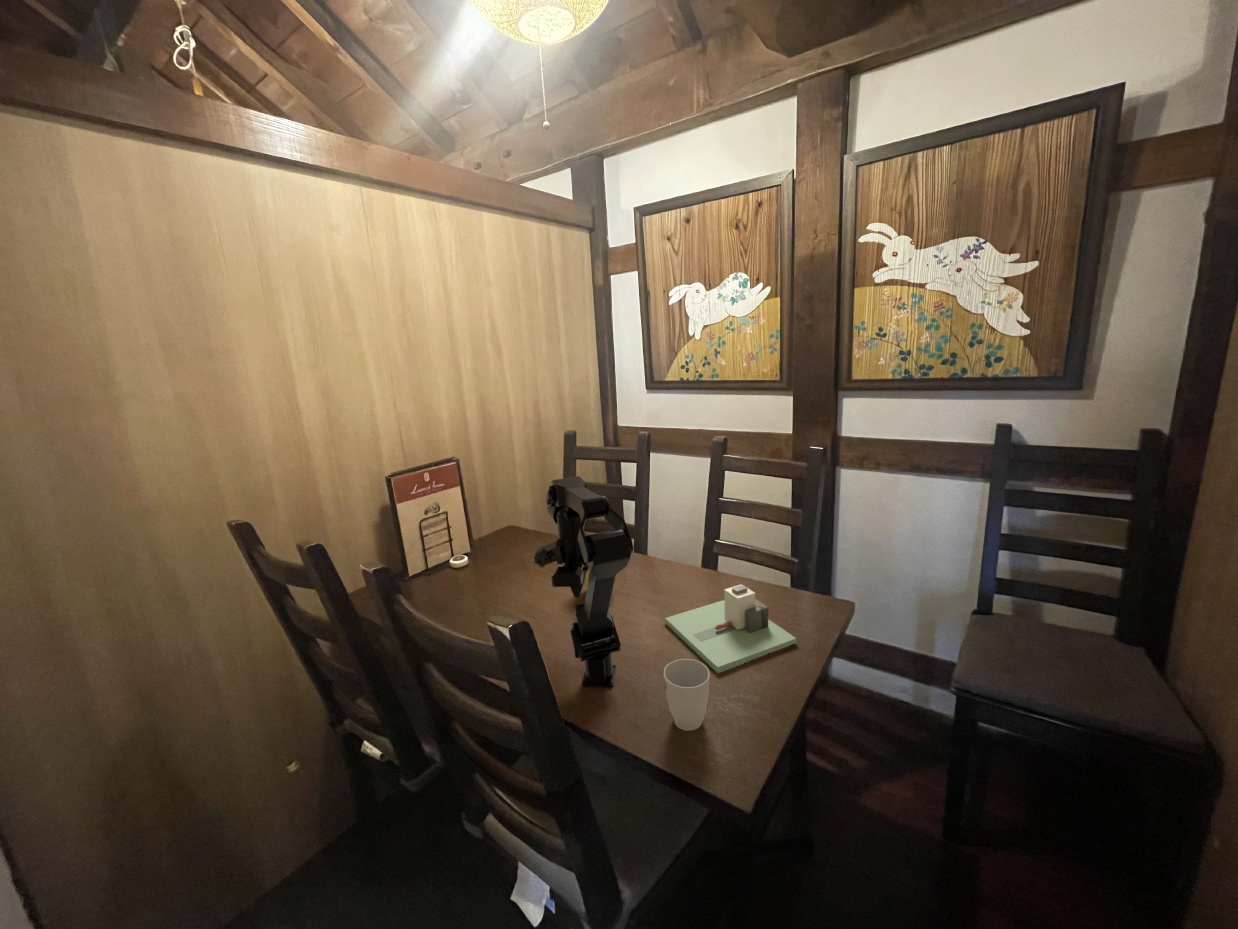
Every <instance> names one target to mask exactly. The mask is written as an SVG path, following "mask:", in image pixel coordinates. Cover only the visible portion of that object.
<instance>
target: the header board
mask: <svg viewBox="0 0 1238 929" xmlns="http://www.w3.org/2000/svg"><path fill="white" fill-rule="evenodd" d="M664 620H665V621H664V622H665V624H666V626H667V627H669V629H670V630H671V631H672V632H674V634H676V635H677V637H679V638H680V639H681V640H682V641H683V642H684V643H685V644H686V645H687V646H688V647H690V649H691V650H693V652H695V653H696V654H697V656H698V657H700V658H701V659H702V660H703V662H705V663H706V664H707V665H709V667H710V668H712V669H713V671H715V673H716V674H720V673H721V674H722V673H723V672H726V671H728V670H731V669H734V668H736V666H737V667H739V666H741V665H744V663H745V664H747V663H750V662H752V661H751V660H753V659H755V660H757V659H756V658H758V657H760V656H763V655H766V654H768V653H771V652H773V651H776V650H779V649H782V648H784V647H787V646H789V645H791V644H794V643H796V644H797V638H796V636H793V635H792V634H791V633H789V632H788V631H786V630H785V629H784V628H782V627H781V626H779V625H778V624H776V623H774V622H773V621H772V620H770V619H769V618H768V627H767V628H764V629H761V630H758V631H755V632H752V633H749V632H748V631H746V627H745V628H742V629H739V630H737V629H736V628H734V627H733V626H732V625H731V626H728V627H725V628H722V629H719V630H716V629H715V626H716V625H719V624H722V623H725V622H727V621H725V604H724V599H723V600H720V601H717V602H713V603H710V604H707V605H703V606H701V607H697V608H694V609H690V610H688V611H683V612H680V613H678V614H673V615H671V616H667V617H665V618H664ZM787 648H788V647H787ZM782 650H783V649H782ZM779 651H780V650H779ZM771 654H772V653H771ZM766 656H767V655H766ZM763 657H764V656H763ZM758 659H759V658H758ZM749 661H750V662H749ZM753 661H754V660H753ZM746 662H747V663H746Z"/></svg>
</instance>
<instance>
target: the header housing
mask: <svg viewBox="0 0 1238 929" xmlns="http://www.w3.org/2000/svg"><path fill="white" fill-rule="evenodd" d="M768 619H769V607H768V606H767V605H765V604H764V603H762V602H761V601H759V600H758V599H756V598H755V608H752V609H749V610H746V631H748V632H749V633H752V632H755V631H758V630H761V629H764V628H767V627H768Z"/></svg>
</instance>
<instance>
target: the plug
mask: <svg viewBox="0 0 1238 929" xmlns="http://www.w3.org/2000/svg"><path fill="white" fill-rule="evenodd" d="M723 591H724V595H723V596H724V597H723V598H724V599H723V600H724V604H725V621H727V622H725V623H722V624H719V625H716V626H715V629H716V630H719V629H722V628H725V627H728V626H731V625H732V626H733V627H734V628H736V629H737V630H739V629H742V628H745V627H746V610H749V609H752V608H755V599H756V592H754V591H753V590H751V589H750V588H748V587H747V586H745V585H743V584H737V585H733V586H731V587H727V588H725V589H724V590H723Z"/></svg>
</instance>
